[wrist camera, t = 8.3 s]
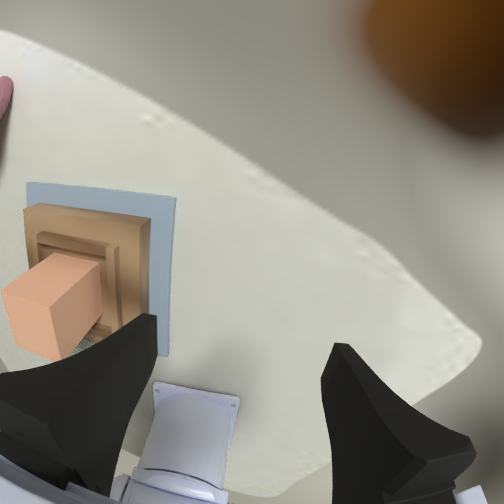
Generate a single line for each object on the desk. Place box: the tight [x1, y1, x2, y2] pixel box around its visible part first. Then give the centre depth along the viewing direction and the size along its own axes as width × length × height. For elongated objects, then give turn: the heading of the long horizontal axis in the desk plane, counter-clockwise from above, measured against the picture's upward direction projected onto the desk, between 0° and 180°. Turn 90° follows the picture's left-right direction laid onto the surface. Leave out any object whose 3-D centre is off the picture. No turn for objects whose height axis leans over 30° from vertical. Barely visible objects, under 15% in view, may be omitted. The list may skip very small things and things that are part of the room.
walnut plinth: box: [23, 203, 151, 343], centre depth 20 cm, size 10×10×3 cm
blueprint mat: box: [27, 182, 176, 357], centre depth 21 cm, size 13×13×1 cm
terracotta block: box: [1, 253, 103, 362], centre depth 16 cm, size 4×4×6 cm
